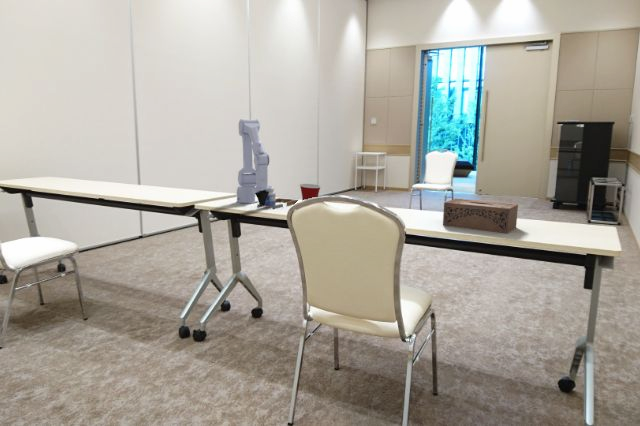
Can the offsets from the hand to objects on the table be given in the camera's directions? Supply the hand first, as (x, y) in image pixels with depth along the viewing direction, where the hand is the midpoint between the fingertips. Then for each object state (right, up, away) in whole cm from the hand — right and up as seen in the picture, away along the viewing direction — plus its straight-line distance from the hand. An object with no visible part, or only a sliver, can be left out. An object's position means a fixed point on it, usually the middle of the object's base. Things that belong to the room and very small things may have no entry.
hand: (262, 205), depth 229 cm
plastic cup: (+24, -1, +3) cm, 24 cm away
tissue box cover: (+95, -10, -38) cm, 102 cm away
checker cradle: (+3, 0, +7) cm, 7 cm away
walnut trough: (+9, +2, +18) cm, 20 cm away
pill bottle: (+3, -1, +7) cm, 7 cm away
